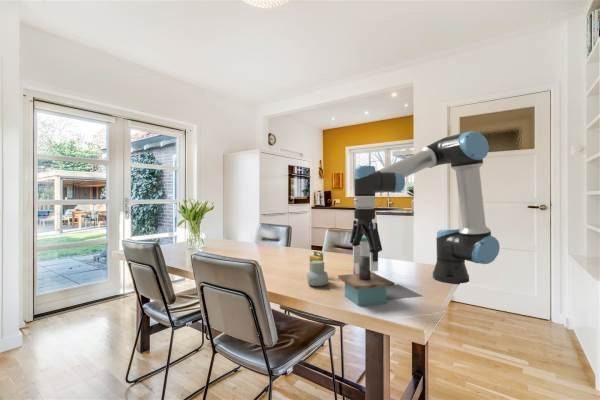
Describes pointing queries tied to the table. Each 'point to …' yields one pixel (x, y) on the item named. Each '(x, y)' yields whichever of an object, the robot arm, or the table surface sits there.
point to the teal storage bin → (366, 295)
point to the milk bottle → (362, 253)
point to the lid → (365, 277)
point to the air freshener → (317, 274)
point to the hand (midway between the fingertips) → (364, 266)
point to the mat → (399, 292)
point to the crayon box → (316, 257)
